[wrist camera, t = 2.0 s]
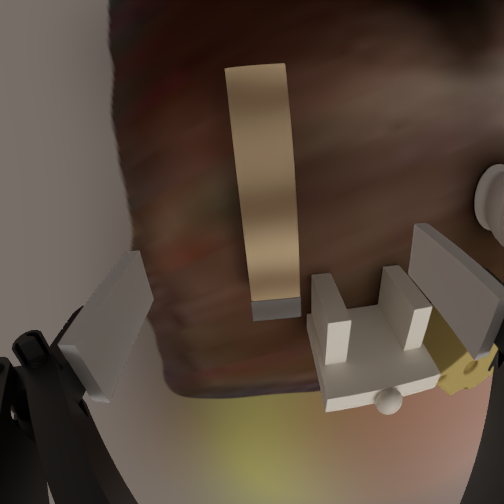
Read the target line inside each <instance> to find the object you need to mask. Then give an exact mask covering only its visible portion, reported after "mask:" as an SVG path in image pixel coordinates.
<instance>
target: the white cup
mask: <svg viewBox="0 0 504 504" xmlns="http://www.w3.org/2000/svg"><path fill="white" fill-rule="evenodd" d="M474 209H475V214H476V218H477V220H478V222H479V223H480V225H481V226H482V227H483V228H485V229H487V230H491V231H492V233H493V235H494V236H495V238H496V239H497V240H498V242H499V243H500V244H501V245H502V246H503V247H504V165H503V164H496V165H493V166H491V167H490V168H488V169H487V170H486V171H485V173H484V174H483V175H482V177H481V179H480V180H479V183H478V185H477V188H476V192H475V199H474Z"/></svg>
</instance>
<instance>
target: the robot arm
mask: <svg viewBox="0 0 504 504" xmlns="http://www.w3.org/2000/svg"><path fill="white" fill-rule="evenodd" d="M408 274H409V276H410V277H411V278H412V279H413V280H414V282H415V283H416V284H417V285H418V286H419V288H420V289H421V290H422V291H423V293H424V294H425V295H426V296H427V297H428V299H429V300H430V301H431V303H432V304H433V305H434V306H435V308H436V309H437V310H438V311H439V313H440V314H441V315H442V317H443V318H444V319H445V321H446V322H447V323H448V325H449V326H450V327H451V329H452V330H453V331H454V333H455V334H456V335H457V337H458V338H459V339H460V341H461V342H462V344H463V345H464V346H465V348H466V349H467V351H468V352H469V354H470V355H471V356H472V358H473V359H474V361H475V360H478V359H481V358H483V357H486V356H488V355H489V353H490V351H491V348H492V346H493V344H495V345H496V346H497V348H498V350H497V352H496V354H495V356H494V358H493V360H492V362H491V364H490V366H489V368H488V371H490V370H491V368H492V367H493V366H494V370H493V379H492V386H491V393H490V399H489V405H488V410H487V415H486V420H485V425H484V429H483V434H482V438H481V442H480V445H479V449H478V453H477V457H476V460H475V463H474V466H473V469H472V473H471V475H470V478H469V481H468V485H467V487H466V490H465V492H464V495H463V497H462V500H461V503H460V504H504V283H503V282H501V281H500V280H499V279H498V278H497V277H495V275H494V274H492V273H491V272H490V271H489V270H488V269H486V268H484V267H482V266H480V265H479V264H478V263H477V262H476V261H474V260H473V259H472V258H471V257H470V256H468V255H467V254H466V253H465V252H464V251H462V250H461V249H460V248H459V247H457V246H456V245H455V244H454V243H452V242H451V241H450V240H449V239H447V238H446V237H445V236H443V235H442V234H441V233H439V232H438V231H437V230H436V229H434V228H433V227H432V226H430V225H429V224H427V223H420V224H414V231H413V241H412V249H411V257H410V264H409V271H408ZM153 300H154V299H153V295H152V292H151V289H150V286H149V282H148V279H147V276H146V272H145V269H144V265H143V262H142V258H141V254H140V251H131V252H125V253H124V254H123V256H122V257H121V258H120V260H119V261H118V262H117V263H116V264H115V266H114V267H113V268H112V269H111V271H110V272H109V274H108V275H107V276H106V277H105V279H104V280H103V281H102V283H101V284H100V285H99V286H98V288H97V289H96V290H95V292H94V293H93V295H92V296H91V297H90V299H89V300H88V301H87V303H86V304H85V305H84V306H81V307H80V308H79V309H78V310H77V311H75V312H74V313H73V314H72V316H71V317H70V318H69V320H68V323H66V324H65V325H64V327H63V329H62V330H61V331H60V333H59V334H58V336H57V337H56V338H55V340H54V341H53V343H52V344H51V346H50V347H49V345H48V344H47V342H46V340H45V338H44V336H43V334H42V333H41V331H38V330H31V331H28V332H25V333H24V334H22V335H21V336H19V337H18V338H17V339H16V340H15V342H14V343H13V346H12V350H13V352H14V354H15V355H16V357H17V358H18V360H19V361H20V363H21V365H22V366H17V367H13V366H12V364H11V362H10V361H9V359H8V358H6V357H0V504H49V496H48V488H47V482H48V485H49V488H50V491H51V494H52V497H53V499H54V502H55V504H138V503H137V501H136V500H135V498H134V497H133V495H132V493H131V492H130V490H129V488H128V487H127V485H126V484H125V482H124V480H123V478H122V476H121V475H120V473H119V471H118V469H117V468H116V466H115V464H114V462H113V460H112V458H111V456H110V454H109V452H108V450H107V448H106V446H105V445H104V442H103V440H102V438H101V436H100V434H99V432H98V430H97V428H96V425H95V423H94V421H93V419H92V416H91V414H90V411H89V409H88V407H87V404H86V402H85V401H84V400H83V398H82V397H83V395H84V393H85V391H87V393H88V394H89V396H90V397H91V399H92V400H93V401H100V402H108V403H110V402H111V399H112V397H113V394H114V391H115V389H116V386H117V384H118V381H119V379H120V376H121V374H122V371H123V369H124V366H125V364H126V361H127V359H128V357H129V354H130V352H131V350H132V347H133V345H134V343H135V340H136V338H137V336H138V334H139V331H140V329H141V327H142V324H143V322H144V320H145V318H146V316H147V313H148V311H149V309H150V307H151V305H152V302H153ZM11 411H12V412H13V413H14V419H12V417H11Z"/></svg>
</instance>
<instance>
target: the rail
mask: <svg viewBox="0 0 504 504" xmlns="http://www.w3.org/2000/svg"><path fill="white" fill-rule="evenodd" d="M225 76H226V85H227V94H228V103H229V112H230V121H231V129H232V138H233V147H234V156H235V164H236V173H237V181H238V190H239V199H240V207H241V216H242V224H243V232H244V241H245V249H246V257H247V266H248V274H249V282H250V290H251V304H252V312H253V320H254V321H260V320H271V319H282V318H292V317H301V296H300V273H299V243H298V221H297V201H296V184H295V169H294V155H293V142H292V130H291V118H290V107H289V97H288V87H287V77H286V68H285V63H281V64H264V65H251V66H241V67H232V68H225Z"/></svg>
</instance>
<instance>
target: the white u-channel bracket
mask: <svg viewBox="0 0 504 504" xmlns="http://www.w3.org/2000/svg"><path fill="white" fill-rule="evenodd" d="M431 310H432V305H431V304H430V302H429V301H428V300H427V299H426V297H425V296H424V295H423V294H422V292H421V291H420V290H419V289H418V287H417V286H416V285H415V284H414V283H413V281H412V280H411V279H410V278H409V276H408V275H407V274H406V273H405V272H404V271H403V269H402V268H401V267H400V266H399V265H394V266H386V267H383V270H382V278H381V286H380V293H379V300H378V305H372V306H366V307H358V308H351V309H346V307H345V304H344V302H343V300H342V298H341V295H340V293H339V291H338V289H337V286H336V284H335V282H334V280H333V278H332V275H331V273H323V274H313V275H311V314H307V331H308V335H309V339H310V344H311V348H312V352H313V357H314V361H315V366H316V370H317V375H318V379H319V384H320V389H321V393H322V398H323V403H324V407H325V412H330V411H336V410H342V409H348V408H353V407H358V406H364V405H368V404H373V403H376V407H377V409H378V410H379V411H380V412H381V413H383V414H393V413H395V412H396V411H398V409H399V408H400V407H401V405H402V396H406V395H410V394H414V393H417V392H420V391H424V390H427V389H431V388H434V387H435V385H436V383H437V381H438V379H439V377H440V375H441V373H440V371H439V369H438V368H437V366H436V364H435V362H434V361H433V359H432V357H431V356H430V354H429V352H428V351H427V349H426V347H425V346H424V344H423V342H422V341H423V338H424V335H425V331H426V328H427V325H428V321H429V318H430V314H431Z"/></svg>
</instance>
